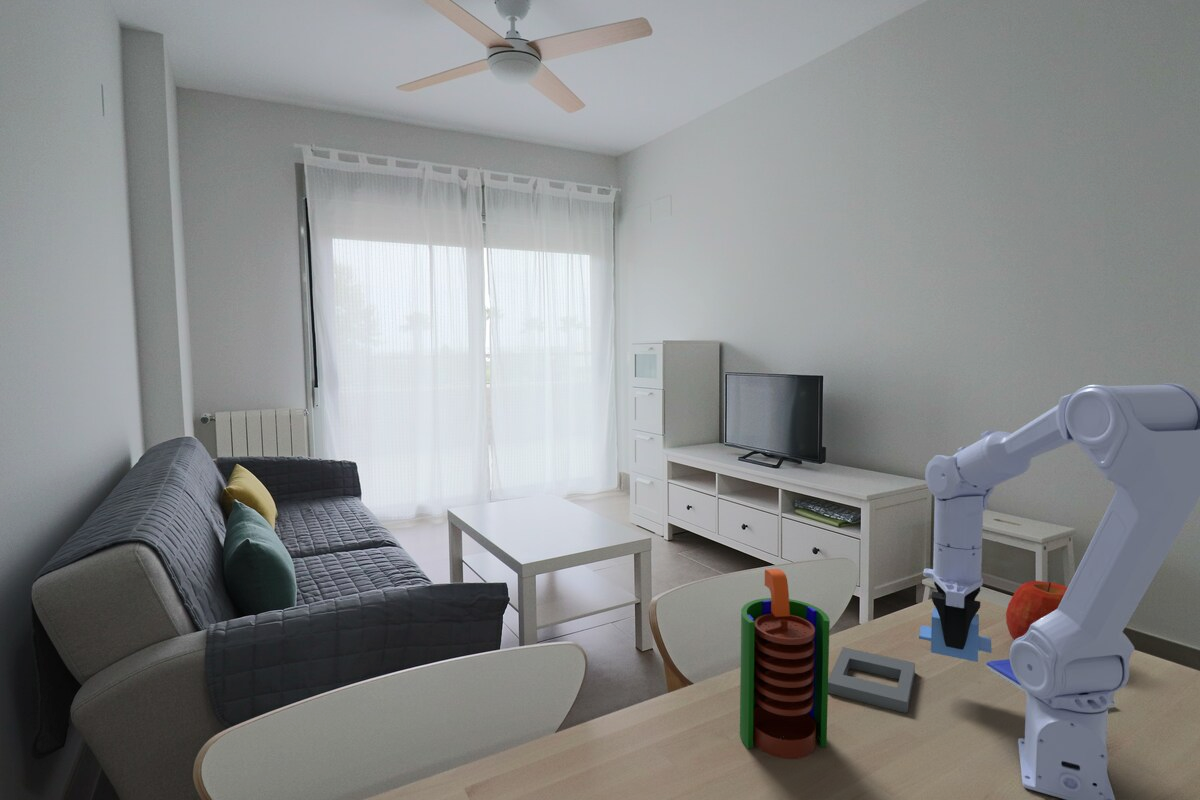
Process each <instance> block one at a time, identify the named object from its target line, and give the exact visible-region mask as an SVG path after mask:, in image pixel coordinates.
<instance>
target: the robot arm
mask: <svg viewBox="0 0 1200 800" xmlns="http://www.w3.org/2000/svg"><path fill="white" fill-rule="evenodd" d="M980 437H981V439H980V440H977V441H976V442H974V443H972V444H970V445H964V446H960V447H959V448H958V449H957V452H955V454H953V455H952V456H951V455H949V456H948V455H942V454H936V455H934V456H933V457H932V458H931V459H930V460H929V461H928V463H927V465H926V467H925V470H924V472H925V473H924V477H925V483H926V486H927V489H928V490H929V492H930V493H931V494H932V495H933V496H934V514H933V515H934V517H933V523H934V524H933V558H932V559H933V562H932V564H933V565H932V566H933V567H932V568H927V567H926V568H924V569H923V577H924V578H929V579H932V580H933V581H934V582H933V584H934V587H935V589H936V591H935V590H934V591H932V592H931V601H932V604H933V606H934V607H936V609H937V611H938V614H939V617H940V620H941V625H942V631H943V637H944V641H945V645H946V646H947V647H951V648H956V649H961V650H963V649H964V647H965V644H966V640H967V636H968V631H969V627H970V624H971V621H972V619H973V617H974V616H975V614H978V611H979V610H980V609H981V601H979V600H976V598H977V597H978V595H979V593H981V587H982V586H983V584H984V578H983V577H982V564H983V563H982V561H983V530H984V528H983V525H984V524H983V523H984V521H983V520H984V519H983V518H984V511H986V509H987V508H988V503H989V502H988V500H989V497H990V495H991V494H992V493H993V491H994V490H995V488H996V486H998V485H1001V484H1003V483H1005V482H1007V481H1010V480H1011V479H1014V478H1016V477H1019V476H1021V475H1023V474H1025V473H1026V472H1027V471H1028V470H1029V468H1030V466H1031V462H1032V459H1033V458H1036V457H1039V456H1040V455H1043V454H1046V453H1048V452H1051V451H1053V450H1056V449H1058V448H1061V447H1063V446H1067V445H1069V444H1071V443H1074V442H1075V443H1076V444H1077V445H1078V447H1079V448H1080V450H1082V451H1083V453H1084V454H1085V455H1086V457H1088V459H1089V460H1090V461H1091V463H1092V464H1093V465H1094V466H1095V468H1097V470H1098V471H1099V472H1100V473H1101V475H1102V476H1103V477H1104V478H1105V479H1106V480H1108V481H1110V482H1112V483H1113V485H1114V486H1115V489H1116V490H1115V493H1114V495H1113V497H1112V500H1111V501H1110V503H1109V505H1108V506H1107V509H1106V510H1105V513H1104V515H1103V517H1102V519H1101V521H1100V523H1099V525H1098V527H1097V528H1096V530H1095V533H1094V535H1093V537H1092V539H1091V540H1090V542H1089V545H1088V547H1087V549H1086V551H1085V553H1084V555H1083V556H1082V559H1081V561H1080V563H1079V565H1078V567H1077V568H1076V571H1075V573H1074V575H1073V577H1072V579H1071V581H1070V583H1069V584H1068V588H1067V590H1066V592H1065V594H1064V596H1063V598H1062V600H1061V602H1060V604H1059V606H1058V608H1057V609H1056V610H1054V611H1053V612H1051V613H1049V614H1048V615H1046V616H1044V617H1042V618H1041V619H1039V620H1037V621H1036V622H1034V623H1032V624H1031V625H1030V627H1029V630H1028V631H1027V633H1026V634H1025V635H1023V636H1021V637H1019V638H1017V639H1015V640H1014V639H1013V641H1012V643H1011V645H1010V649H1009V659H1010V664H1011V668H1012V671H1013V673H1014V675H1015V677H1016V679H1017V680H1018V682H1019V683H1020V684H1021V687H1022V688H1023V689H1024V690H1026V692H1025V695H1026V696H1025V720H1024V721H1025V723H1024V738H1022V737H1019V738H1018V739H1017V744H1018V753H1019V762H1020V764H1019V765H1020V772H1021V774H1020V775H1021V780H1022V781H1021V782H1022V786H1023V787H1024V788H1026V789H1028V790H1031V791H1034V792H1037V793H1042V794H1045V795H1049V796H1051V797H1056V798H1059V799H1063V800H1116V797H1115V794H1114V791H1113V789H1112V785H1111V781H1110V778H1109V774H1108V759H1109V755H1108V754H1109V753H1108V749H1107V739H1108V738H1107V736H1108V719H1109V717H1108V715H1109V708H1108V704H1109V703H1110V702H1114V703H1115V700H1114V698H1115V697H1114V696H1115V692H1117V691H1120V690H1122V689H1123V688H1124V687H1126V685H1127V683H1129V679H1130V660H1131V656H1132V655H1133V653H1134V651H1135V646H1134V645H1133V643H1132V642H1131V640H1130V638H1129V637H1128V636H1127V635H1126V634H1125V633H1124V630H1125V628H1126V627H1127V624H1128V623H1129V622H1130V619H1131V618H1132V616H1133V615H1134V613H1135V611H1136V609H1137V607H1138V605H1139V604H1140V603H1141V600H1142V599H1143V597H1144V595H1145V594H1146V593H1147V590H1148V589H1149V587H1150V585H1151V583H1152V581H1153V579H1154V578H1155V576H1156V574H1158V571H1159V570H1160V568H1161V566H1162V564H1163V562H1164V560H1165V559H1166V557H1167V556H1168V554H1169V552H1170V551H1171V548H1172V547H1173V545H1174V543H1175V542H1176V540H1177V538H1178V536H1179V535H1180V533H1181V531H1182V530H1183V528H1184V526H1185V525H1186V523H1187V521H1188V519H1189V518H1190V515H1191V514H1192V513H1193V510H1194V509H1195V507H1196V505H1197V503H1198V501H1200V500H1199V499H1200V397H1199V396H1198V395H1197V393H1195V392H1194V391H1193V390H1192V389H1190V388H1189V387H1187V386H1184V385H1182V384H1179V383H1176V382H1175V383H1173V382H1165V383H1164V382H1162V383H1158V384H1150V385H1149V384H1148V385H1146V384H1145V385H1144V384H1142V385H1104V384H1089V385H1086V386H1083V387H1081V388H1079V389H1077V390H1076V391H1075V392H1074V393H1069V394H1066V395H1064V396H1061V397H1060V398H1059V401H1058V404H1057V405H1055V406H1054V407H1052V408H1051V409H1049V410H1048V411H1046V412H1044V413H1042V414H1040V415H1039V416H1037V417H1036V418H1034V419H1033V420H1032V421H1030V422H1028V423H1026V424H1024V425H1023V426H1021V428H1019V429H1017V430H1016V431H1014V432H1013V433H1012V432H1011V433H1010V432H1008V431H1000V430H999V431H998V430H986V431H985V432H983V433H980Z"/></svg>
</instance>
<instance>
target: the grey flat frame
mask: <svg viewBox="0 0 1200 800" xmlns="http://www.w3.org/2000/svg"><path fill="white" fill-rule="evenodd" d="M850 669H853V670H857V671H859V672H860V671H861V672H864V673H865V672H866V673H869V674H874V675H878V676H883V677H886V678H891V679H895V680H898V683H897V687H896V686H892V685H888V684H885V683H879V682H875V681H872V680H867V679H862V678H859V677H855V676H849V675H848V672H849V670H850ZM915 673H916V662H914V661H908V660H905V659H899V658H895V657H890V656H885V655H881V654H877V653H871V652H868V651H863V650H858V649H854V648H848V647H844V646H843V647H842V648H841V651H840V652H839V655H838V657H837V659H836V661H835V664H834V666H833V668H832V670H831V673H830V675H829V676H828V694H830V695H835V696H838V697H843V698H847V699H849V700H853V701H859V702H862V703H865V704H869V705H873V706H877V707H881V708H885V709H889V710H892V711H897V712H901V713H904V714H908V710H909V705H910V700H911V694H912V689H913V683H914V680H915V679H914V678H915Z"/></svg>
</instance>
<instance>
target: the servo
mask: <svg viewBox="0 0 1200 800" xmlns="http://www.w3.org/2000/svg"><path fill="white" fill-rule="evenodd" d="M931 613H932V614H931V626H929V625H928V626H927V625H923V624H922V625H920V629H919V634H918V639H919V640H923V641H929V642H930V653H931V654H936V655H941V656H947V657H951V658H956V659H961V660H965V661H972V662H975V663H978V662H979V652H980V651H981V652H986V653H989V654H992V650H993V649H992V638H991V637H986V636H980V635H979V632H980V630H979V629H980V628H979V626H980V622H979V621H980V619H979V618H980V615H979V614H978V613H976V614H975V616H974V617H973V619H972V621H971V624H970V627H969V631H968V636H967V640H966V644H965V647H964V649H963V650H961V649H956V648H951V647H947V646H946V645H945V641H944V637H943V631H942V625H941V620H940V617H939V614H938V611H937V609H936V607H935V606H933V608H932V612H931Z"/></svg>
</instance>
